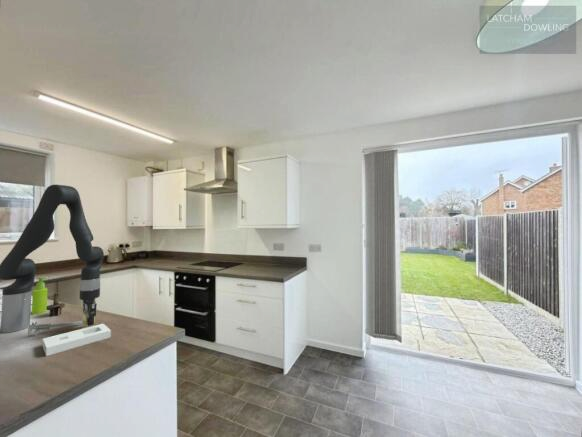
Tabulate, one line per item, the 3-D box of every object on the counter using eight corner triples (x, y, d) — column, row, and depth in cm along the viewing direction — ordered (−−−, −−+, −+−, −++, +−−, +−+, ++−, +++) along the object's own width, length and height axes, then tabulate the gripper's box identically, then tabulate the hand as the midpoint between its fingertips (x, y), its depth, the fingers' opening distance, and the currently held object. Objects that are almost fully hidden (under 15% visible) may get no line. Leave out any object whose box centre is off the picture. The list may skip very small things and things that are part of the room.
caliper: (27, 338, 104) (28, 323, 105) (27, 337, 105) (27, 323, 105) (87, 323, 121) (87, 310, 121) (86, 322, 121) (87, 310, 122)
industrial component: (64, 315, 132) (65, 293, 132) (45, 318, 127) (47, 295, 127) (64, 310, 138) (65, 290, 139) (46, 313, 133) (47, 292, 134)
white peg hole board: (42, 346, 97) (42, 338, 97) (103, 329, 112) (103, 323, 112) (46, 356, 89) (46, 347, 89) (110, 337, 105) (111, 330, 105)
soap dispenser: (40, 314, 132) (42, 278, 133) (28, 314, 132) (30, 278, 133) (51, 310, 138) (52, 276, 139) (39, 310, 138) (41, 276, 139)
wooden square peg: (82, 329, 113) (82, 312, 114) (92, 326, 116) (93, 309, 117) (84, 331, 111) (84, 314, 111) (95, 328, 114) (95, 311, 114)
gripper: (76, 287, 116) (75, 321, 115) (83, 292, 107) (82, 329, 106) (96, 284, 122) (94, 317, 121) (104, 289, 113) (102, 324, 112)
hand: (88, 323), depth 114 cm, fingers open, 6 cm apart
